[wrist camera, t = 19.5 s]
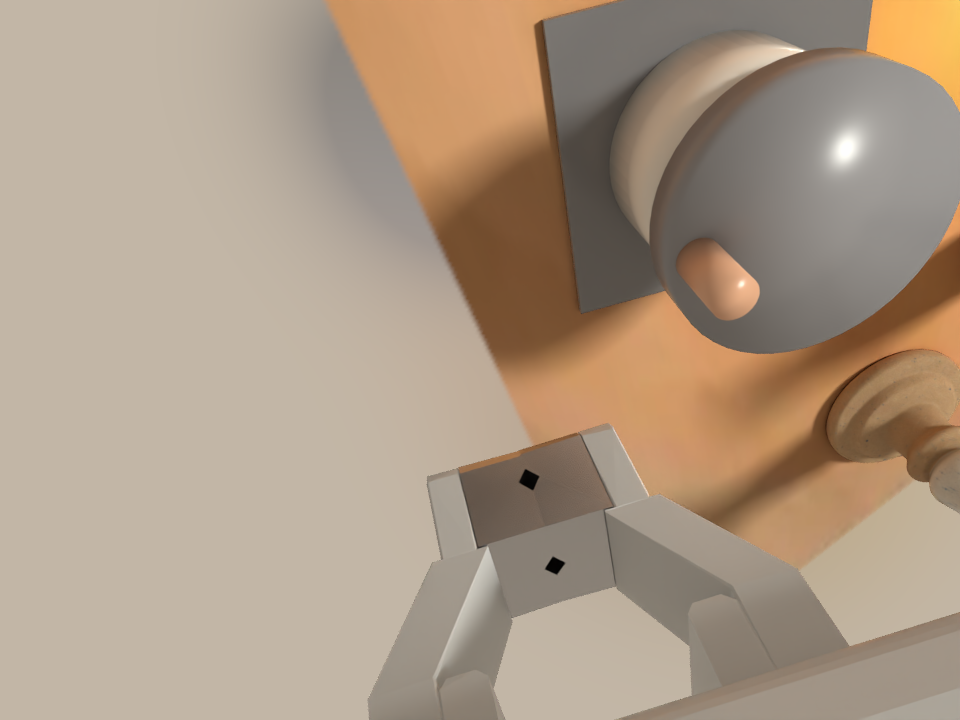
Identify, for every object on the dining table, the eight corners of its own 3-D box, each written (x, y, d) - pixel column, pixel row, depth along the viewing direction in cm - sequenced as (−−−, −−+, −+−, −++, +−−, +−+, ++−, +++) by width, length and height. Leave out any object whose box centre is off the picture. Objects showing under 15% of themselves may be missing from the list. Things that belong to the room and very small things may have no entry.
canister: (541, 19, 41) (595, 60, 33) (876, -67, 42) (1002, -46, 34) (579, 310, 53) (625, 388, 45) (838, 239, 54) (925, 304, 46)
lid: (956, 9, 35) (1076, 40, 30) (904, 286, 45) (987, 348, 39) (639, 95, 34) (702, 143, 29) (656, 357, 44) (706, 430, 39)
